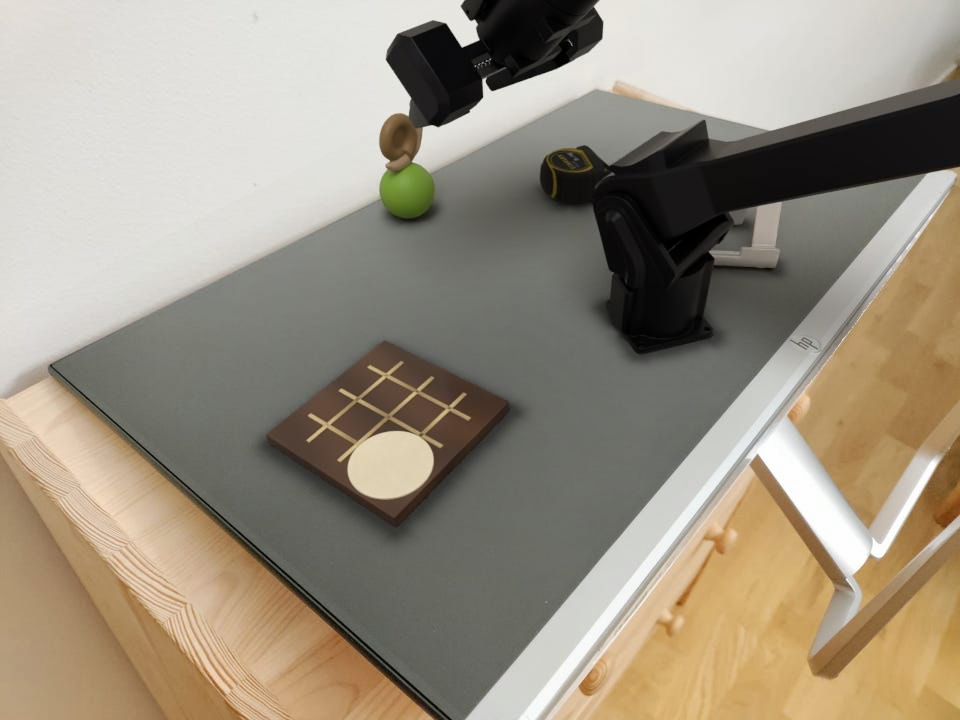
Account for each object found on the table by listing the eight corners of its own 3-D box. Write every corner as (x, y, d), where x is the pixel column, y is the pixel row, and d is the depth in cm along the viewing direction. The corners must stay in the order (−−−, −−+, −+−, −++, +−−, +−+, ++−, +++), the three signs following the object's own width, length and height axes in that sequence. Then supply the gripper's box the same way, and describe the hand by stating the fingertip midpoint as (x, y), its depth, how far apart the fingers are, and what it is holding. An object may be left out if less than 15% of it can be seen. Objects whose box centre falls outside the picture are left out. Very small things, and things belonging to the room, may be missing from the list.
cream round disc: (425, 433, 49) (423, 422, 48) (444, 496, 45) (442, 485, 44) (345, 453, 48) (342, 442, 47) (357, 519, 44) (353, 507, 43)
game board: (386, 349, 56) (384, 338, 55) (509, 410, 50) (509, 400, 49) (268, 444, 49) (264, 433, 48) (396, 527, 43) (393, 517, 43)
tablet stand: (670, 267, 62) (684, 180, 56) (668, 220, 68) (680, 137, 62) (774, 273, 60) (798, 184, 55) (763, 224, 66) (784, 139, 61)
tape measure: (618, 202, 71) (621, 167, 68) (555, 216, 69) (555, 181, 67) (590, 172, 76) (592, 139, 73) (530, 184, 74) (530, 151, 72)
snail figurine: (453, 204, 72) (442, 86, 64) (416, 234, 68) (400, 113, 60) (410, 192, 75) (395, 77, 67) (372, 220, 71) (351, 102, 63)
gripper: (578, -155, 50) (473, -9, 63) (383, -109, 40) (307, 53, 54) (662, -18, 51) (542, 98, 64) (492, 59, 42) (391, 178, 55)
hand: (452, 103), depth 59 cm, fingers open, 9 cm apart
